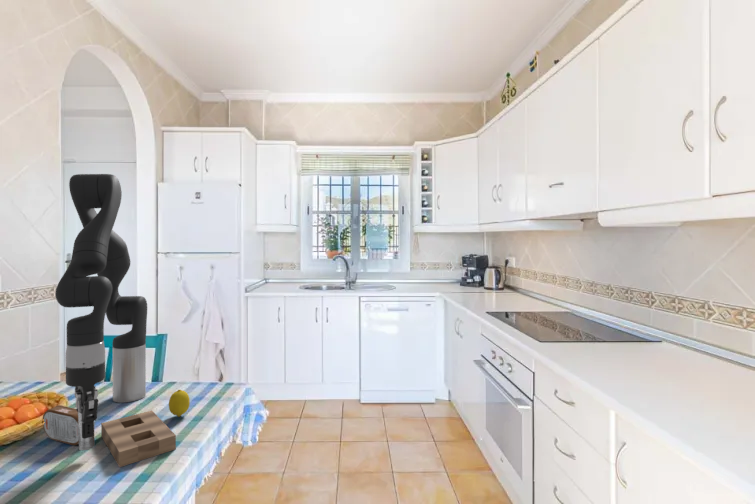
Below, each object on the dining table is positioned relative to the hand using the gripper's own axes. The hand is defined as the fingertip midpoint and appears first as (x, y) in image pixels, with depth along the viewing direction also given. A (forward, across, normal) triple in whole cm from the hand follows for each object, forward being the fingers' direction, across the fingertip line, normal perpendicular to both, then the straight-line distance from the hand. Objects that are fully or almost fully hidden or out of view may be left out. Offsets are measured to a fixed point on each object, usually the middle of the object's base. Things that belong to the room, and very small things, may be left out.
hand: (86, 434), depth 95 cm
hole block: (+6, -1, +11) cm, 12 cm away
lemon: (+6, -10, +24) cm, 26 cm away
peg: (+3, 0, 0) cm, 3 cm away
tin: (+6, -14, -2) cm, 15 cm away
